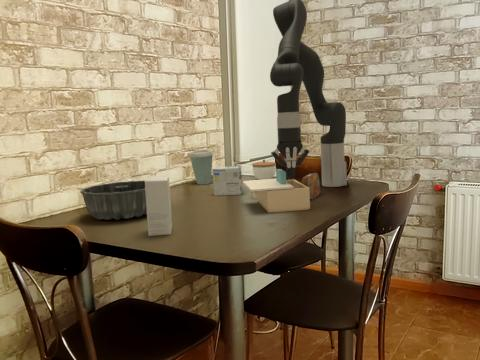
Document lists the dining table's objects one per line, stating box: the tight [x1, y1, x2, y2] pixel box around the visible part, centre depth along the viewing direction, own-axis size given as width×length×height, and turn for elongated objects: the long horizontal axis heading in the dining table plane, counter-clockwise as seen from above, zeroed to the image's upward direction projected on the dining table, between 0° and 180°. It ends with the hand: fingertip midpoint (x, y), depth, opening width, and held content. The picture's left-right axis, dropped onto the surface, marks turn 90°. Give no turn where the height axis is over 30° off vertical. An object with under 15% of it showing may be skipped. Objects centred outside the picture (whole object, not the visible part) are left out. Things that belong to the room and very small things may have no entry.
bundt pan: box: [79, 180, 147, 221], centre depth 163 cm, size 26×26×10 cm
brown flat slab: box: [301, 172, 321, 200], centre depth 175 cm, size 15×3×8 cm, turn 154°
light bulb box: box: [212, 165, 243, 197], centre depth 191 cm, size 11×7×11 cm, turn 84°
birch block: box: [251, 191, 258, 200], centre depth 180 cm, size 4×4×6 cm
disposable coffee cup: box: [188, 149, 214, 185], centre depth 221 cm, size 11×11×15 cm
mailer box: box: [257, 179, 311, 214], centre depth 163 cm, size 14×19×7 cm
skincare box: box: [144, 174, 173, 237], centre depth 137 cm, size 8×7×16 cm
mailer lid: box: [242, 168, 294, 193], centre depth 162 cm, size 14×19×5 cm
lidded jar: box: [252, 159, 277, 180], centre depth 221 cm, size 11×11×9 cm
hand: (291, 178), depth 161 cm, fingers closed
